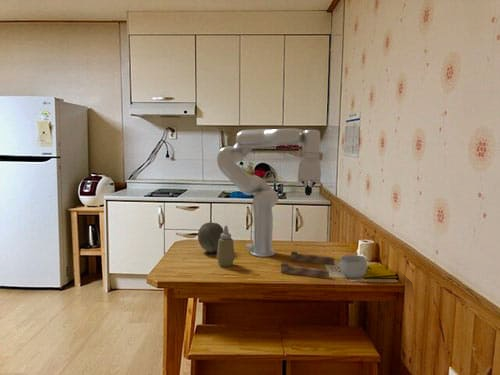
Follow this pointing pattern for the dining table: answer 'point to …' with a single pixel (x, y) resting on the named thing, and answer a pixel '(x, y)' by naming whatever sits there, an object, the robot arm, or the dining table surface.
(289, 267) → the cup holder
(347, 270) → the teacup
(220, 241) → the squeeze bottle
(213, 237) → the cantaloupe
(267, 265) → the dining table surface
